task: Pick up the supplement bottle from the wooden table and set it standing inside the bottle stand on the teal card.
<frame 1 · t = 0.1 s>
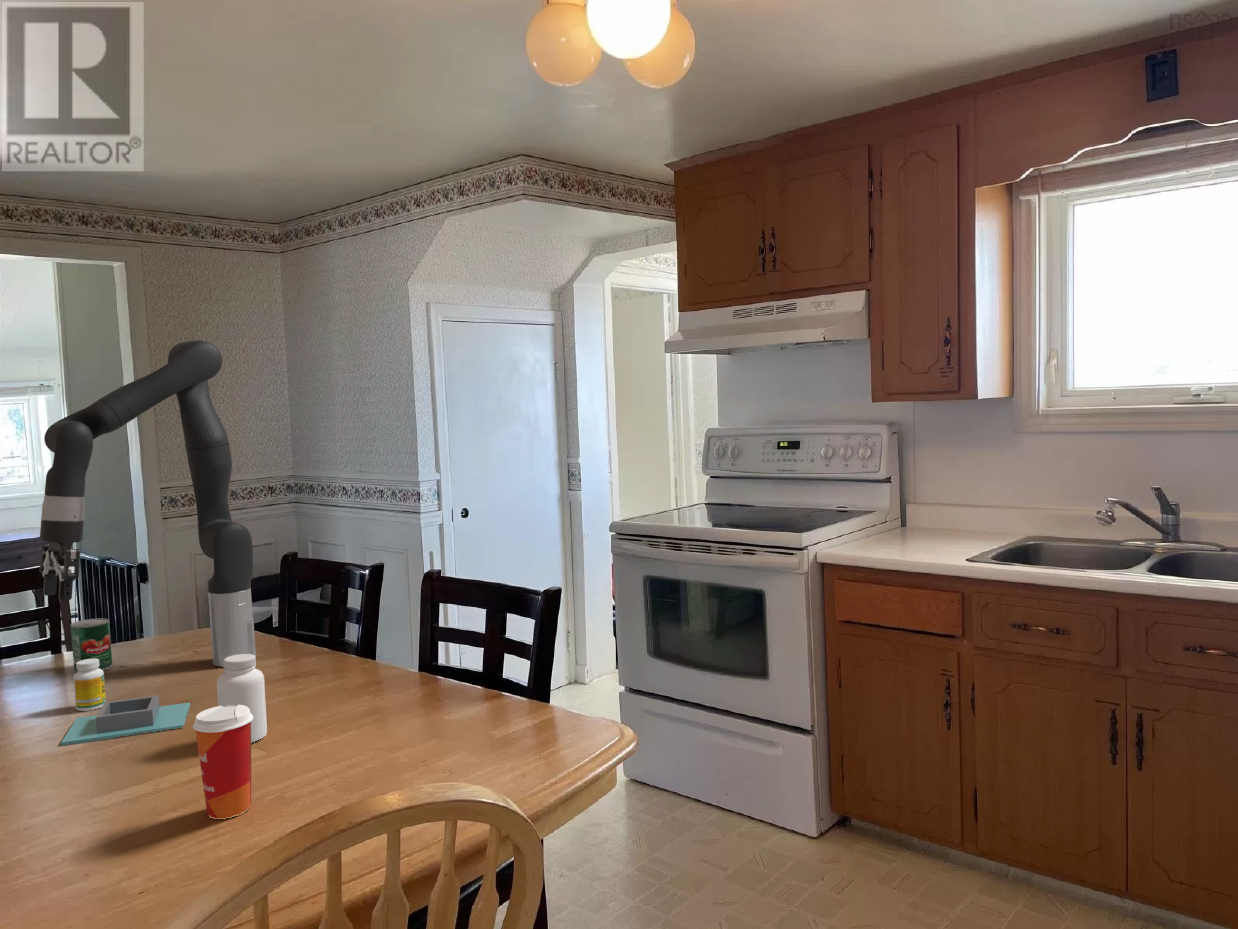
hand: (57, 597, 186), 22 cm above the table, tool pointing down, fingers open, 8 cm apart
canned tomato: (93, 669, 214), on the table
supplement bottle: (91, 708, 186), on the table
bottle stand: (129, 724, 175), on the table
coffee cup: (229, 812, 136), on the table
pill bottle: (244, 739, 165), on the table
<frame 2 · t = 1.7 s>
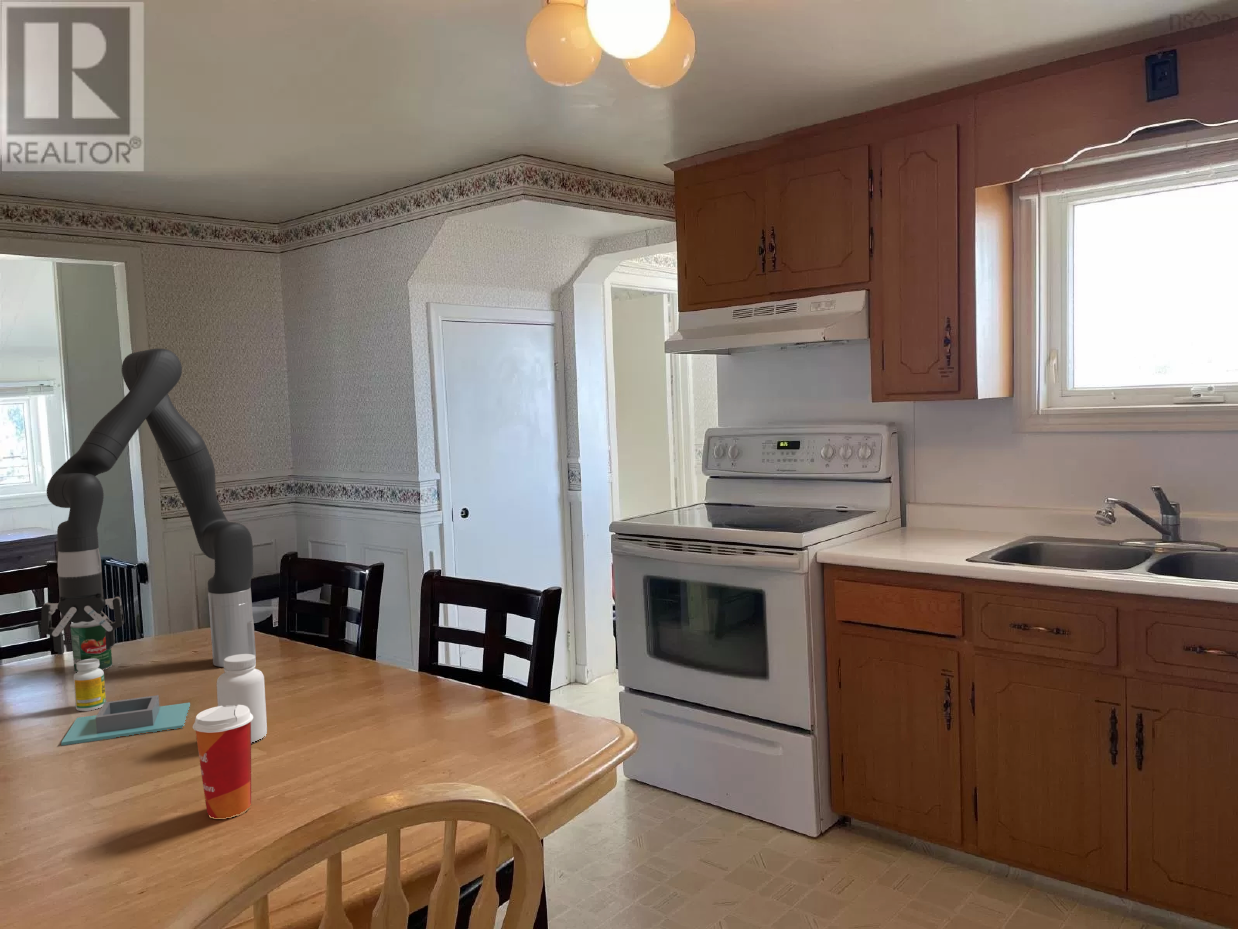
hand: (85, 651, 185), 12 cm above the table, tool pointing down, fingers open, 8 cm apart
nothing on the table moved.
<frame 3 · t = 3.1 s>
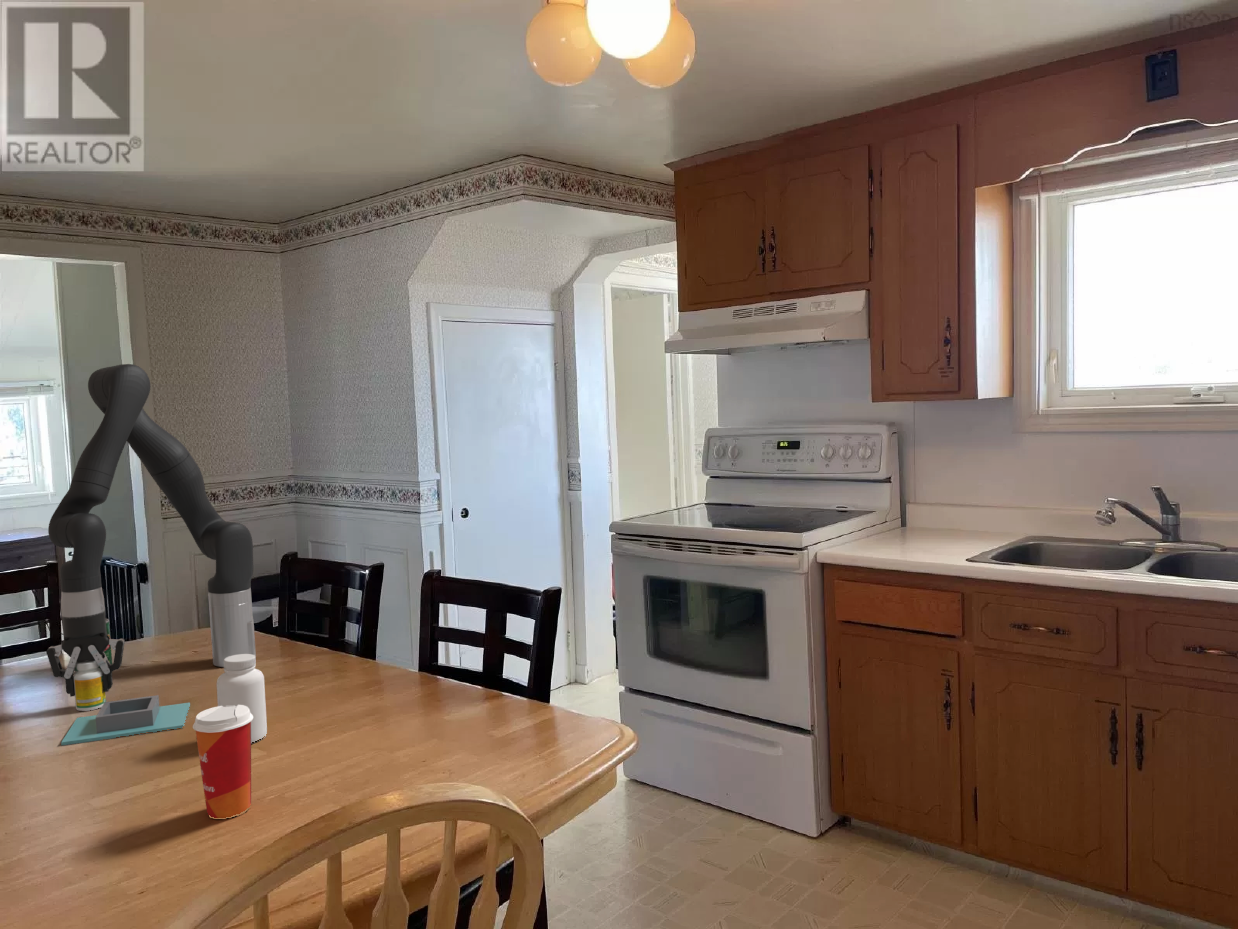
hand: (90, 692, 185), 3 cm above the table, tool pointing down, fingers closed on supplement bottle, 5 cm apart
supplement bottle: (91, 708, 186), on the table, touching gripper
everything else where it was.
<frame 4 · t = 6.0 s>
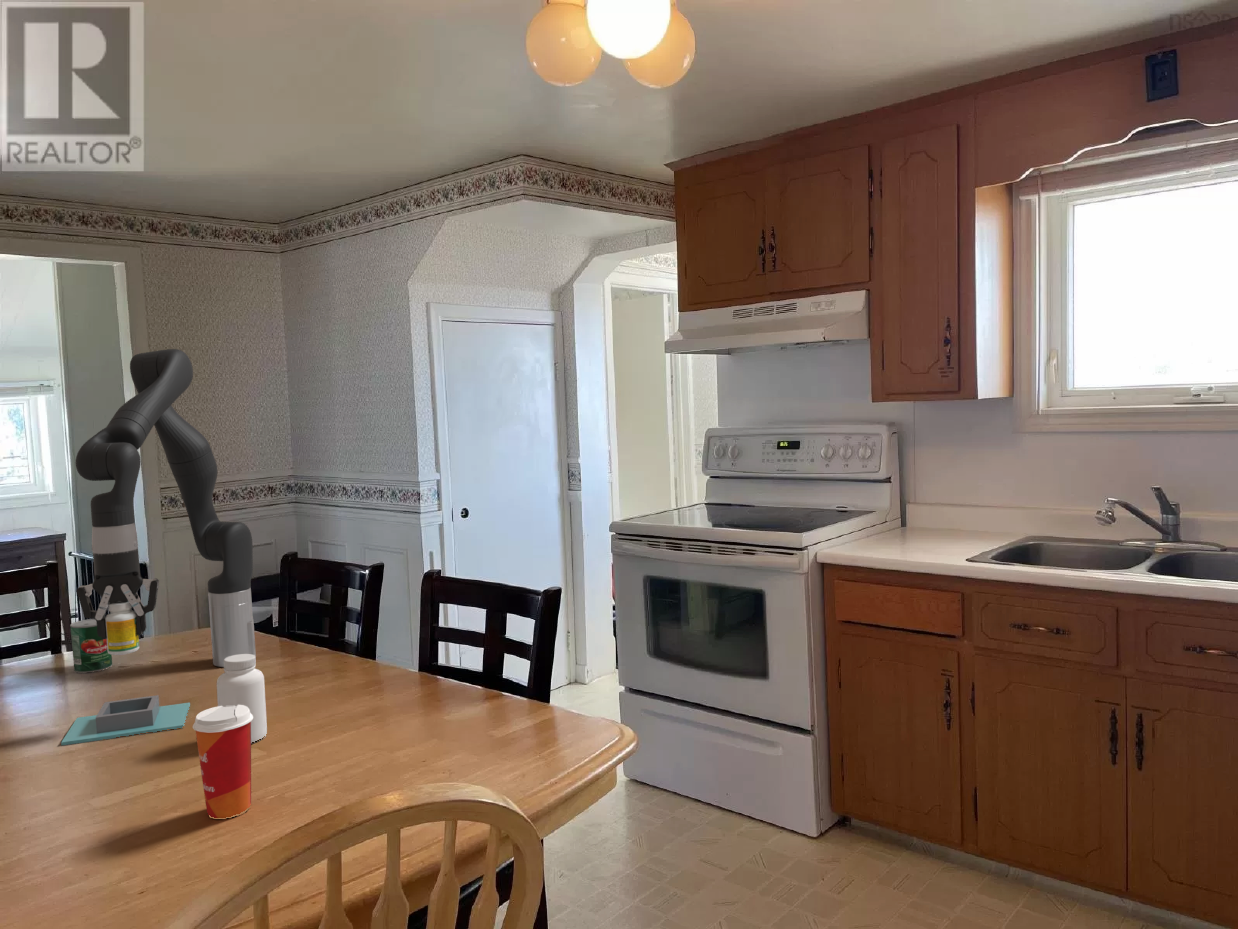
hand: (122, 636, 174), 17 cm above the table, tool pointing down, fingers closed on supplement bottle, 5 cm apart
supplement bottle: (123, 652, 174), point 14 cm above the table, touching gripper
everything else where it was.
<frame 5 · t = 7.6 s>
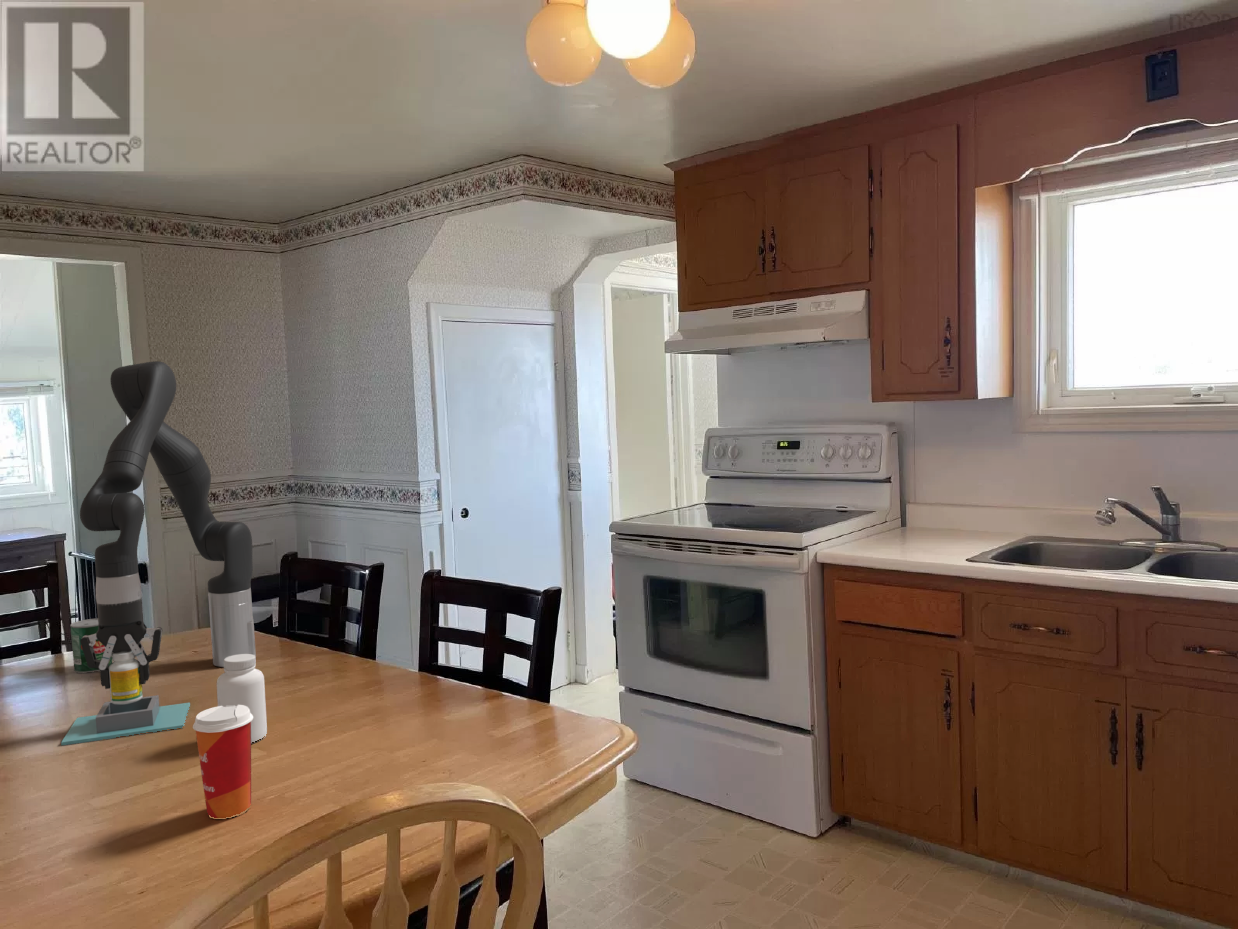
hand: (125, 685, 174), 8 cm above the table, tool pointing down, fingers closed on supplement bottle, 5 cm apart
supplement bottle: (127, 701, 174), point 4 cm above the table, touching gripper
everything else where it was.
when the fingers open (5 cm above the table, at t = 9.1 s): supplement bottle drops 1 cm, resting on bottle stand.
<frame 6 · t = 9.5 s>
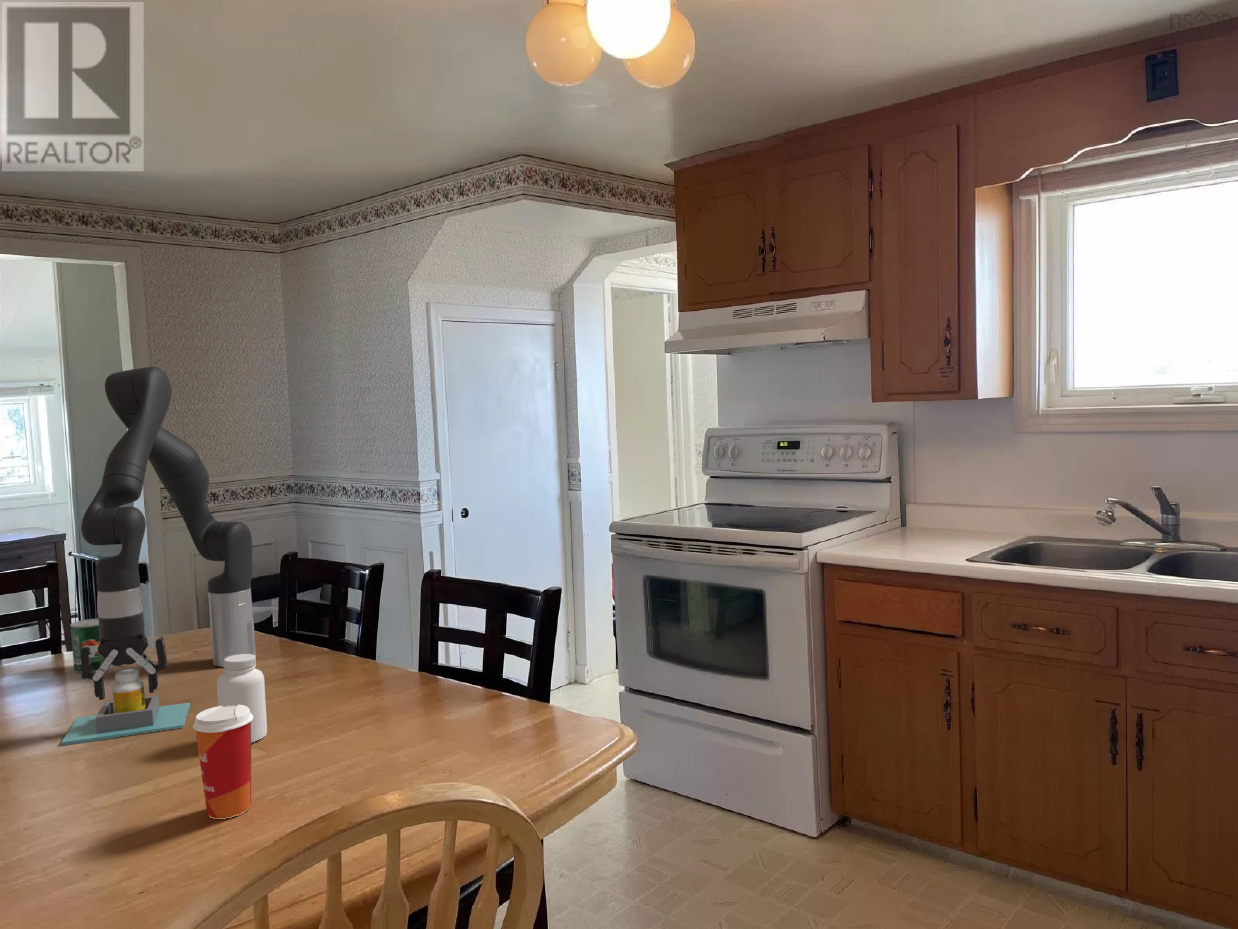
hand: (127, 695, 174), 6 cm above the table, tool pointing down, fingers open, 8 cm apart
supplement bottle: (130, 722, 175), resting on bottle stand
everything else where it was.
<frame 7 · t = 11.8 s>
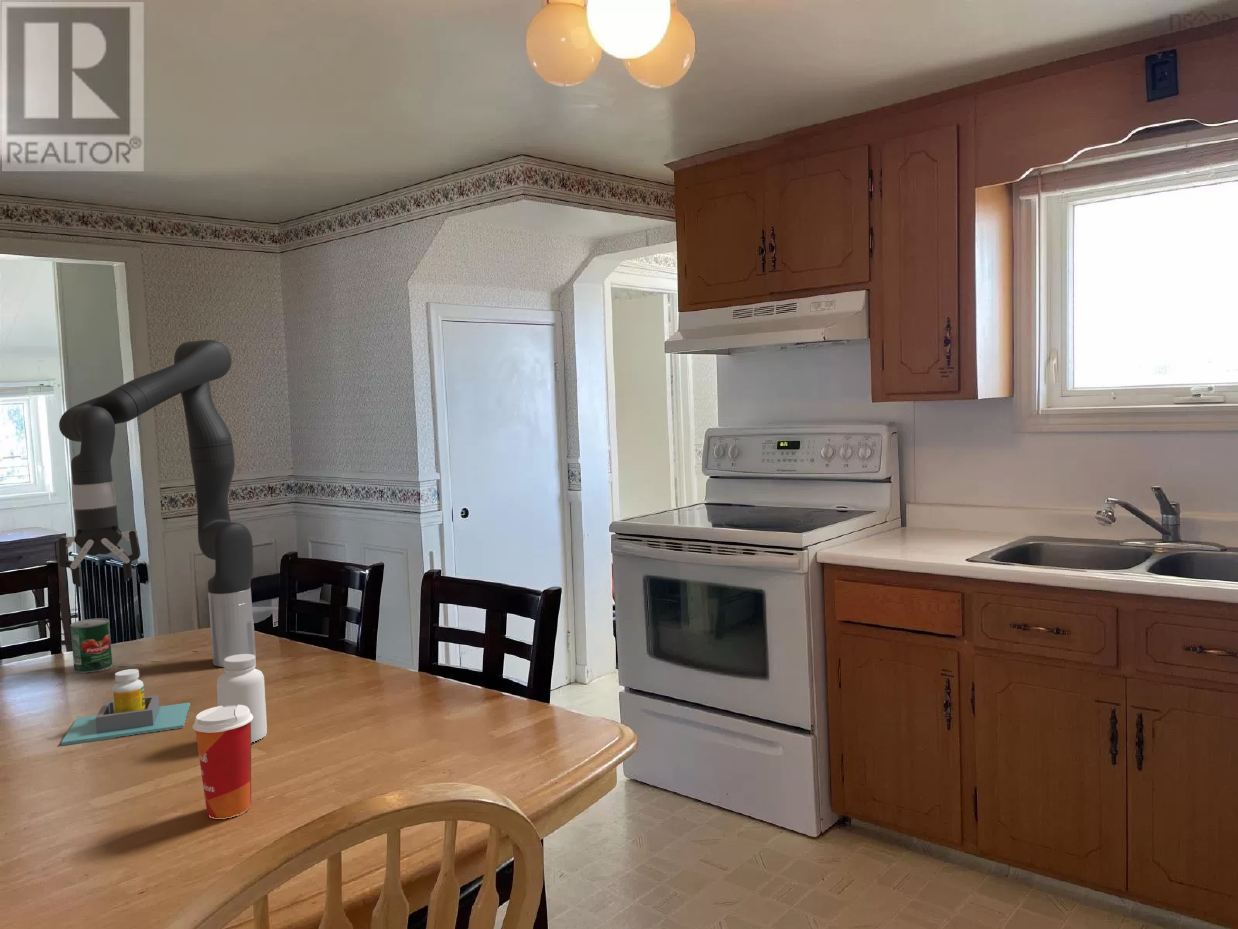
hand: (103, 583, 187), 25 cm above the table, tool pointing down, fingers open, 8 cm apart
nothing on the table moved.
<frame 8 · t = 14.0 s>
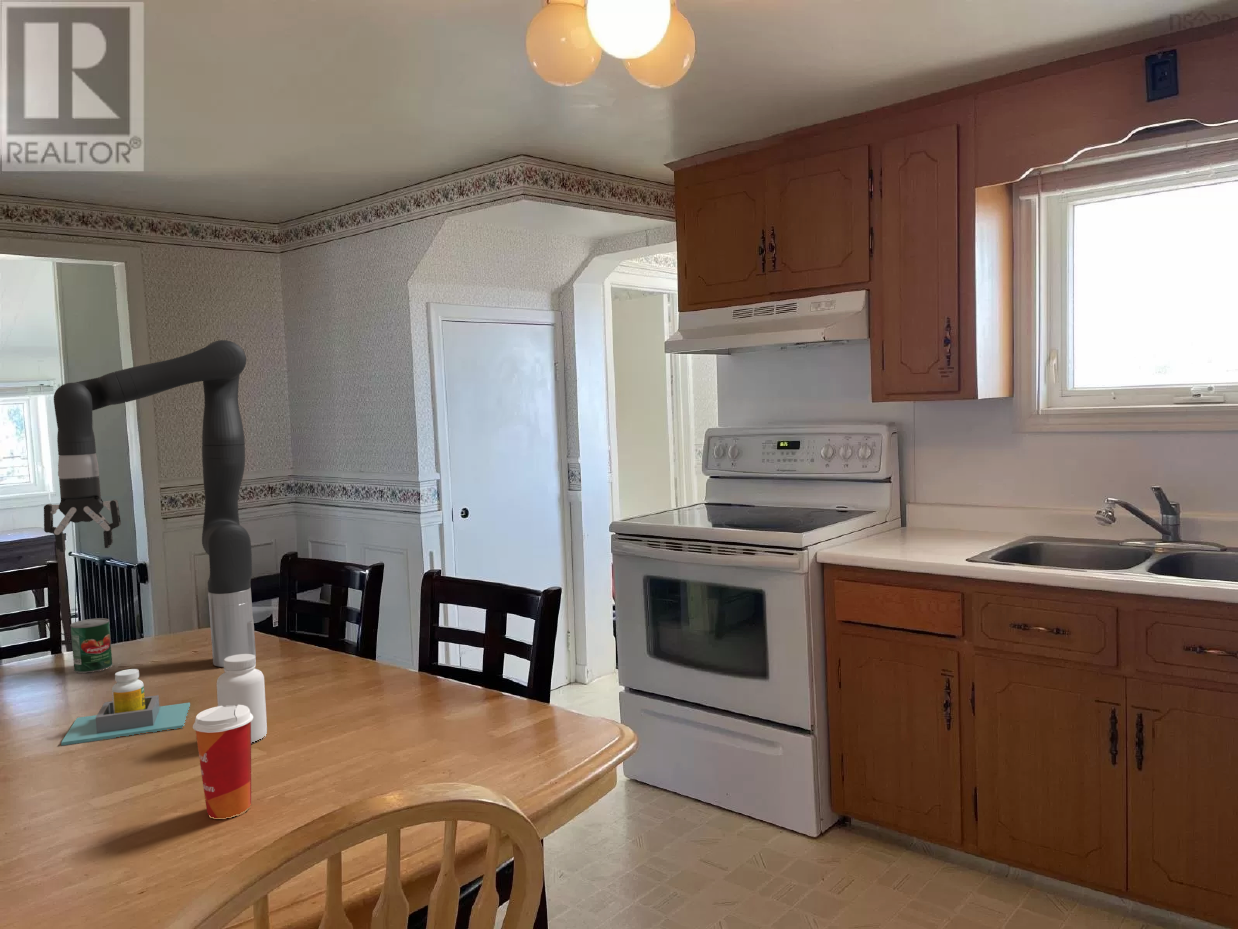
hand: (85, 549, 199), 30 cm above the table, tool pointing down, fingers open, 8 cm apart
nothing on the table moved.
at the end: supplement bottle 0.2 cm off-centre on the bottle stand, point 0.4 cm above the bottle stand's base; supplement bottle tilted 0°; the gripper is holding nothing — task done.
